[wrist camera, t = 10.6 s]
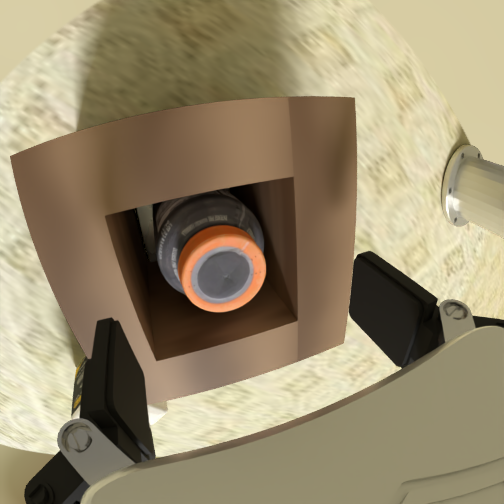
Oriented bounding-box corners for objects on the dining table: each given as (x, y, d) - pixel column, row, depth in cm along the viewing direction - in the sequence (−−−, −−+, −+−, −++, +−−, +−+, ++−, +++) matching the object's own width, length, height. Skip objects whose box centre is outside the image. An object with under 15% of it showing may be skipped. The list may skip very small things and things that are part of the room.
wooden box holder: (261, 104, 22) (354, 97, 12) (274, 264, 29) (343, 343, 19) (75, 138, 18) (9, 156, 8) (122, 303, 25) (121, 409, 15)
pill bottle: (220, 244, 25) (272, 328, 15) (149, 242, 23) (157, 333, 13) (231, 174, 23) (299, 219, 13) (156, 167, 21) (163, 209, 11)
